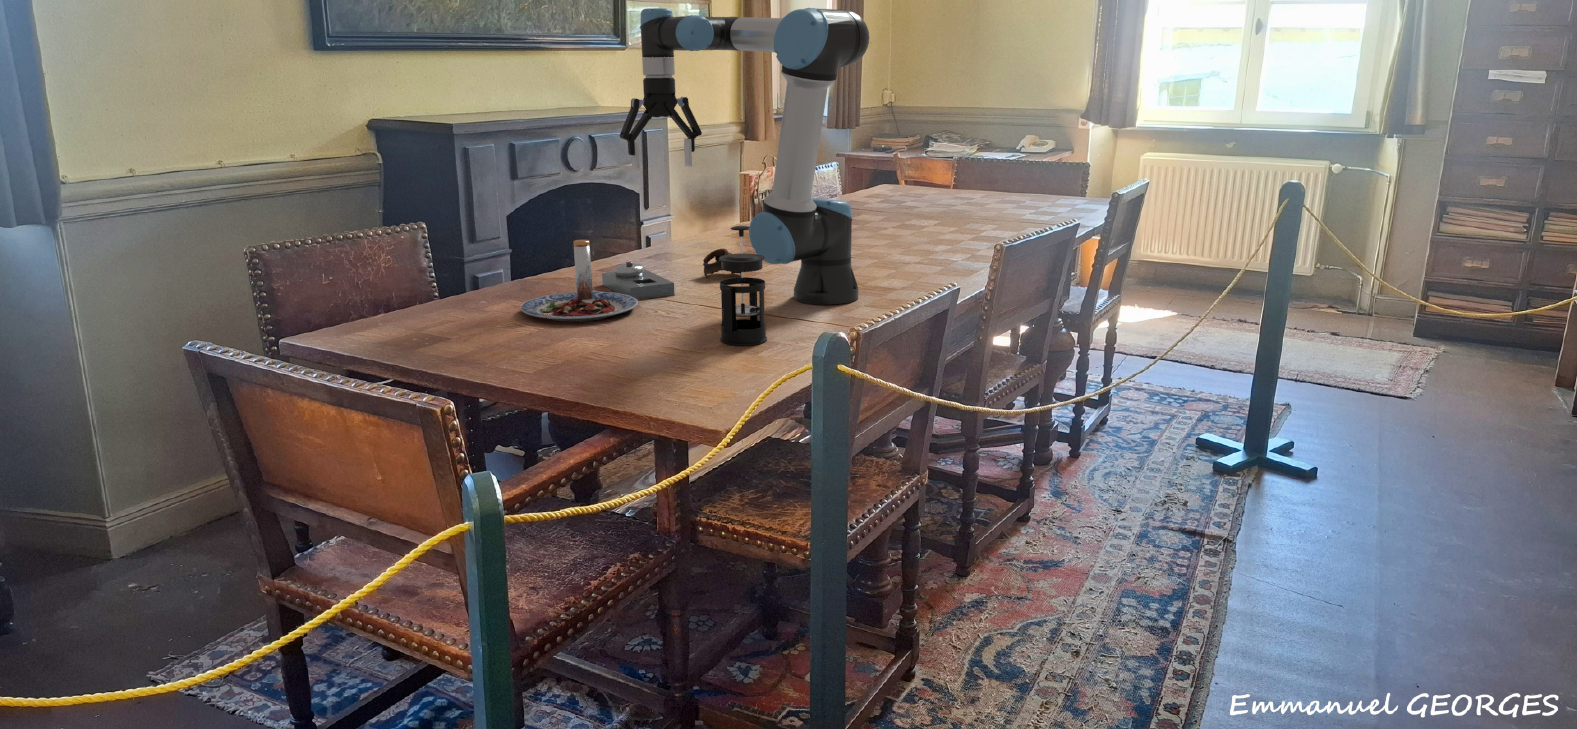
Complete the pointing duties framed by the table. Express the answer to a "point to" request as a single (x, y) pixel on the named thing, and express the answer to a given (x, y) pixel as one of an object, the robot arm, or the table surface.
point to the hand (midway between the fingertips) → (662, 167)
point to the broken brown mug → (716, 265)
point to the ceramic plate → (579, 306)
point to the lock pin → (583, 269)
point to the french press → (742, 329)
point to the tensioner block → (637, 282)
